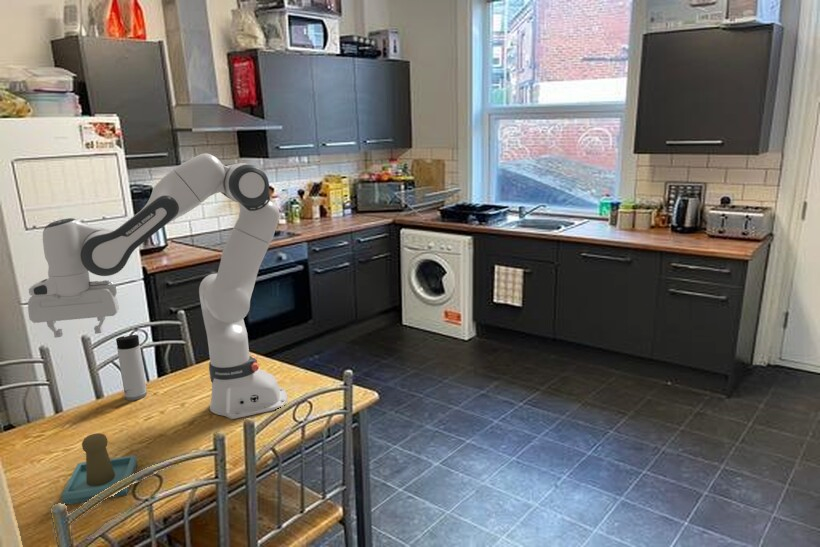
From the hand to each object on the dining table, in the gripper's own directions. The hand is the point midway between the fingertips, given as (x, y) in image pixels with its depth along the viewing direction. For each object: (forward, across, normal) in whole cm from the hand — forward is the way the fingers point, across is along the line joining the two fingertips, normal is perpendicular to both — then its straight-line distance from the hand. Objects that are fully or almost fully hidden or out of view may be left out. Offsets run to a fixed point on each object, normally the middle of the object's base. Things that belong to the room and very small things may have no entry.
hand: (79, 334), depth 154 cm
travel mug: (+29, -6, -23) cm, 38 cm away
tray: (+29, -7, +25) cm, 39 cm away
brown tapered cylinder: (+28, -7, +25) cm, 38 cm away
